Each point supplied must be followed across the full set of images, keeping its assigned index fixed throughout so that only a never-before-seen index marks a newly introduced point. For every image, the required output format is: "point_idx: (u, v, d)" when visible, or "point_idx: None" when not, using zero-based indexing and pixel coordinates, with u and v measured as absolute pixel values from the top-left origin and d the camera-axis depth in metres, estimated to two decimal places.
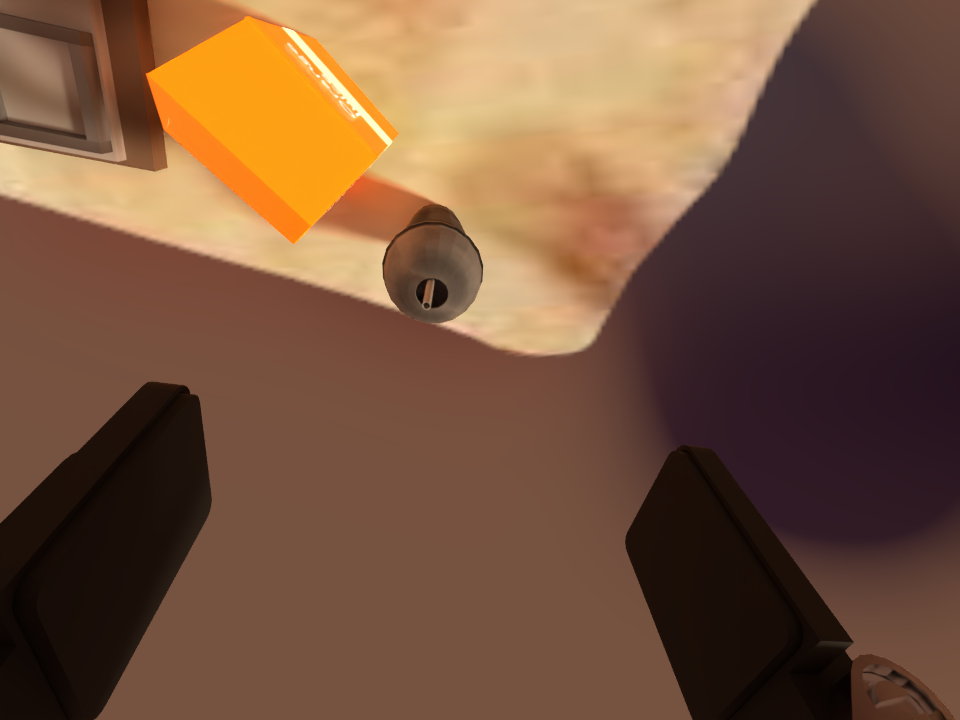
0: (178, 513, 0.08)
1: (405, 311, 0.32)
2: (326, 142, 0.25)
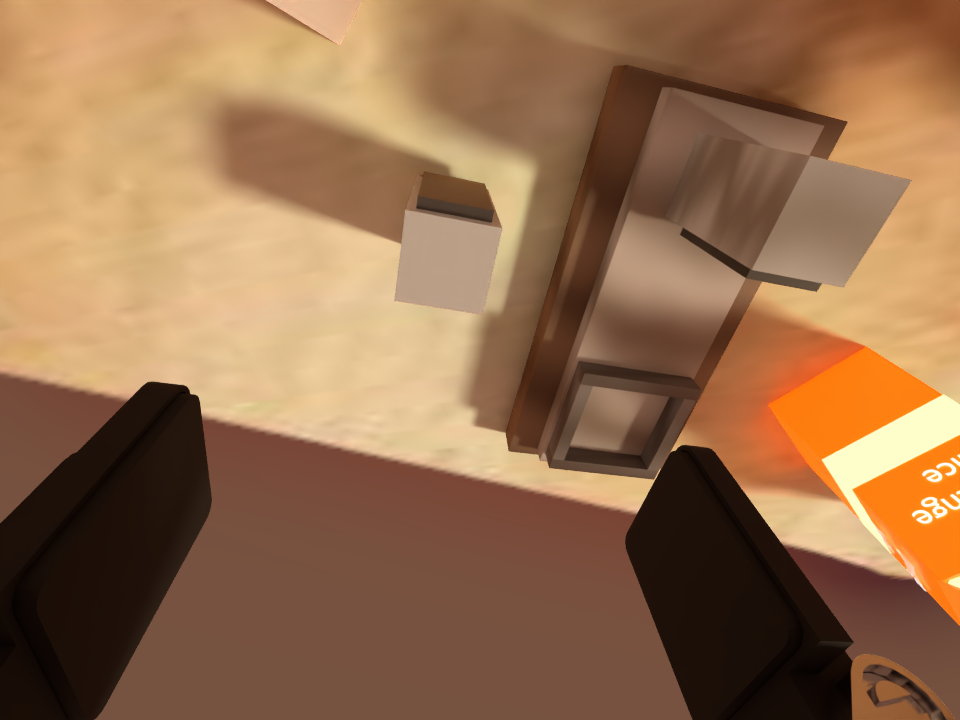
0: (178, 513, 0.08)
1: None
2: None
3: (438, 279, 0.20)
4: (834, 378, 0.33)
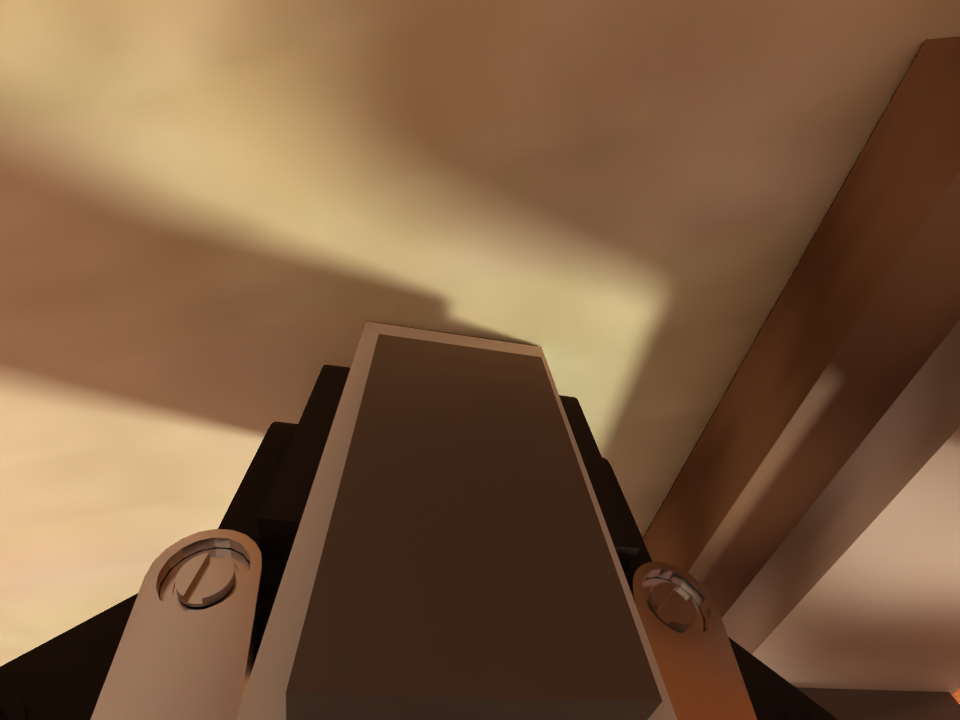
0: None
1: None
2: None
3: None
4: None
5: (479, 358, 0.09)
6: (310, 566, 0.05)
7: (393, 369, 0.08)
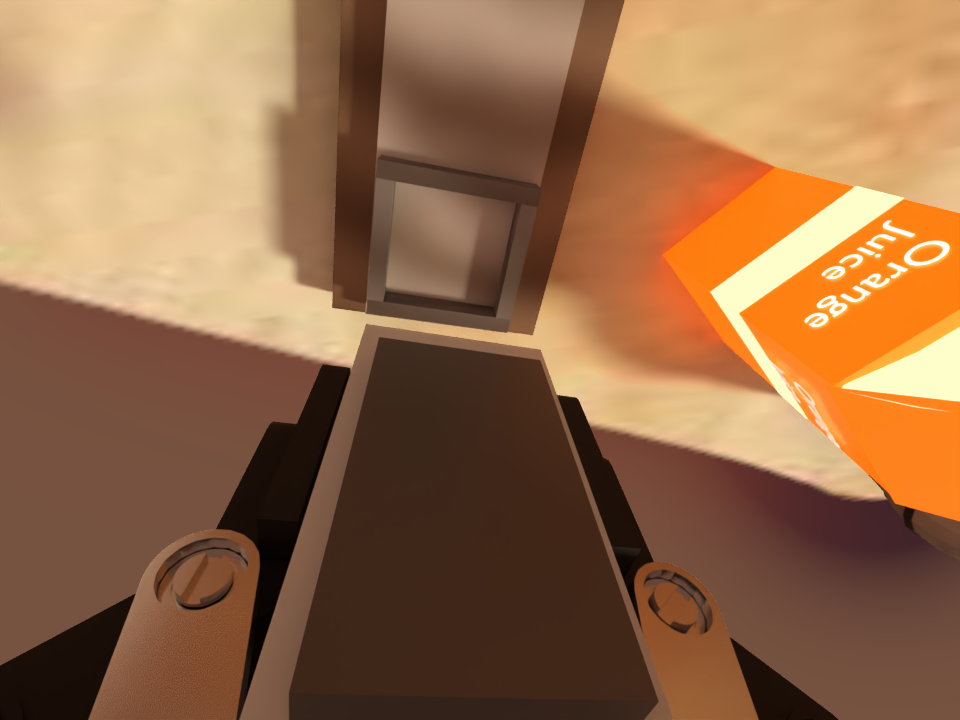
0: None
1: None
2: None
3: None
4: (736, 208, 0.27)
5: (479, 361, 0.09)
6: (312, 568, 0.05)
7: (393, 372, 0.08)
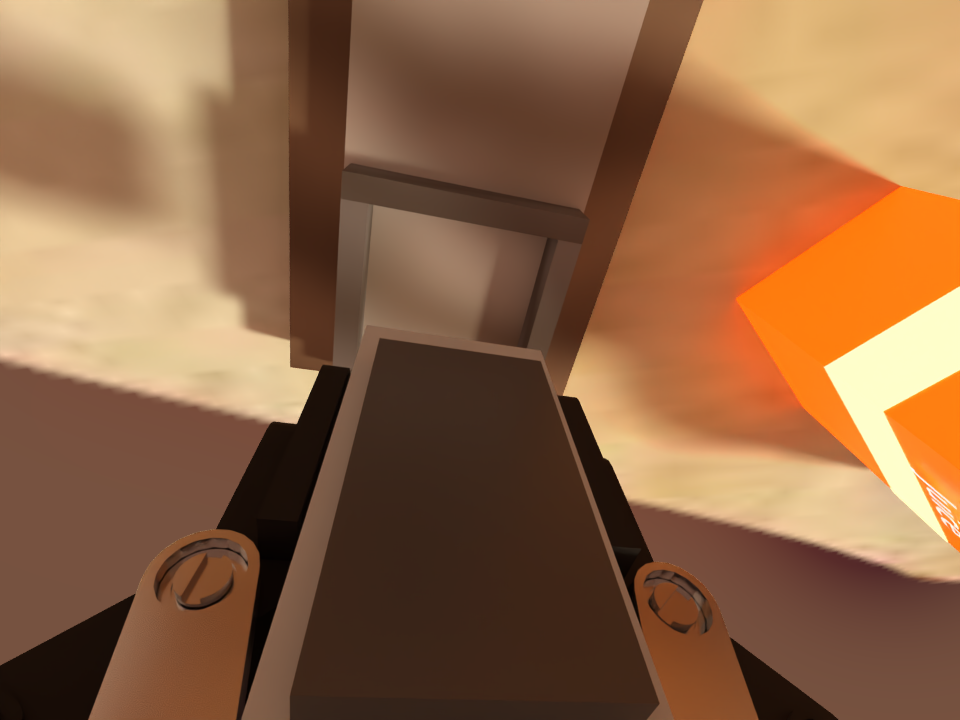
0: None
1: None
2: None
3: None
4: (846, 241, 0.19)
5: (479, 362, 0.09)
6: (312, 570, 0.05)
7: (394, 373, 0.08)
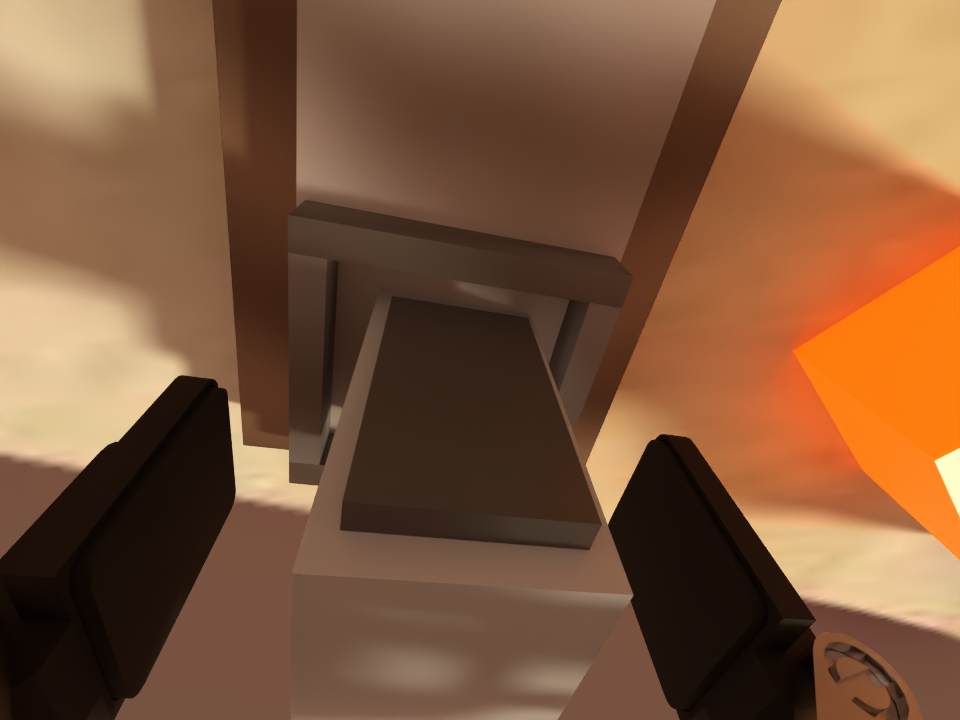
0: (207, 502, 0.08)
1: None
2: None
3: (418, 696, 0.07)
4: (938, 286, 0.15)
5: (476, 316, 0.10)
6: (348, 448, 0.07)
7: (405, 321, 0.10)
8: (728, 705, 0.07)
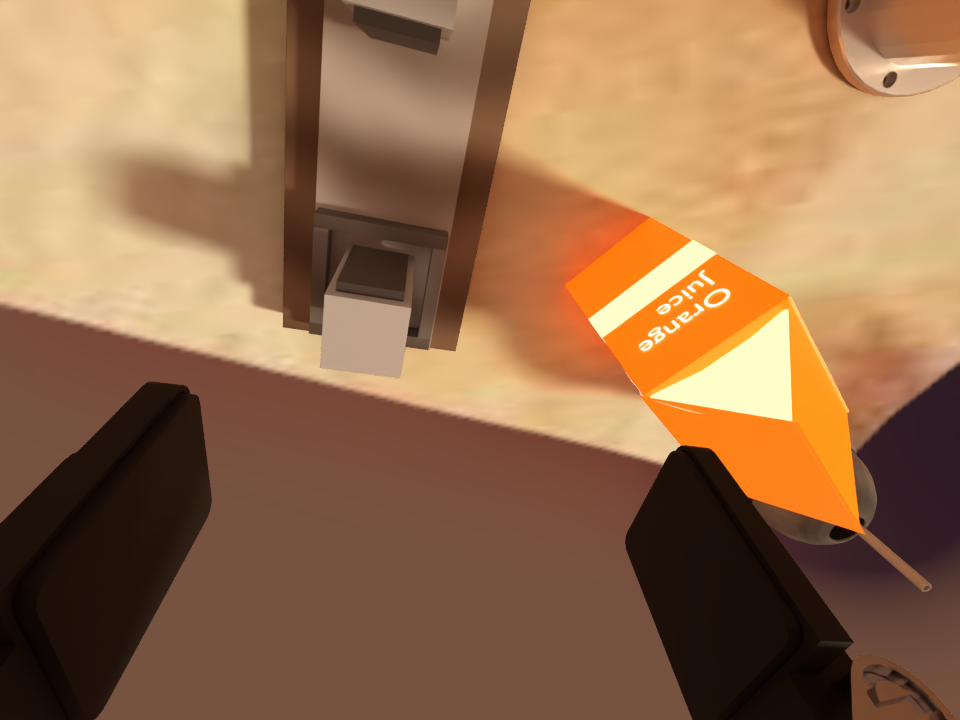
0: (178, 513, 0.08)
1: (794, 536, 0.29)
2: (836, 416, 0.22)
3: (358, 349, 0.23)
4: (619, 249, 0.33)
5: (386, 252, 0.27)
6: (337, 280, 0.23)
7: (357, 251, 0.26)
8: None
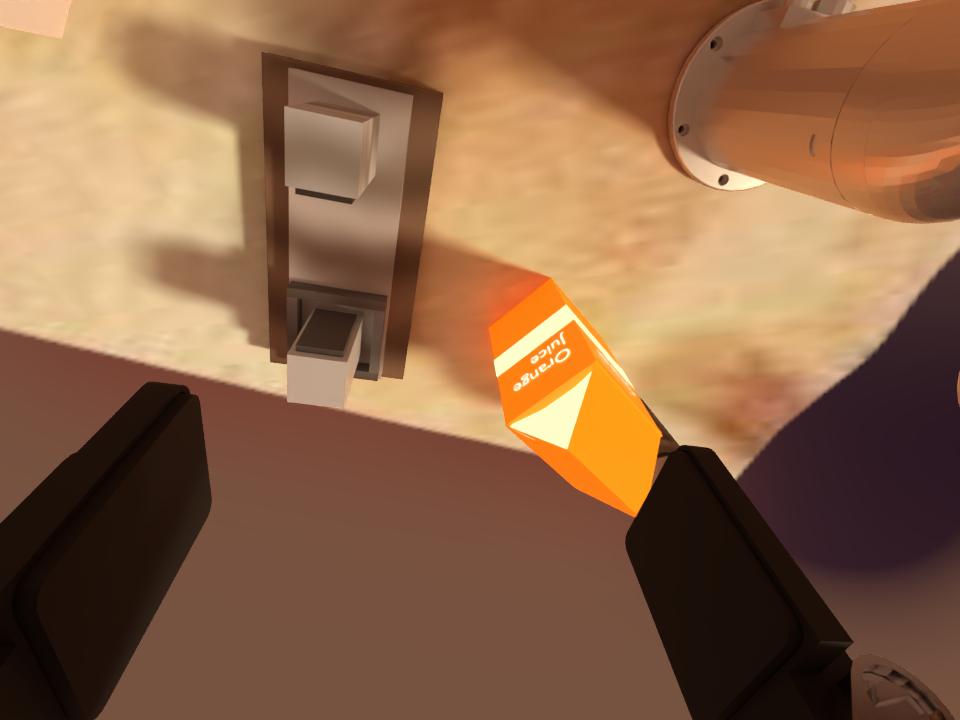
0: (178, 513, 0.08)
1: None
2: (639, 441, 0.31)
3: (312, 389, 0.33)
4: (526, 303, 0.42)
5: (339, 314, 0.37)
6: None
7: (317, 315, 0.36)
8: None
